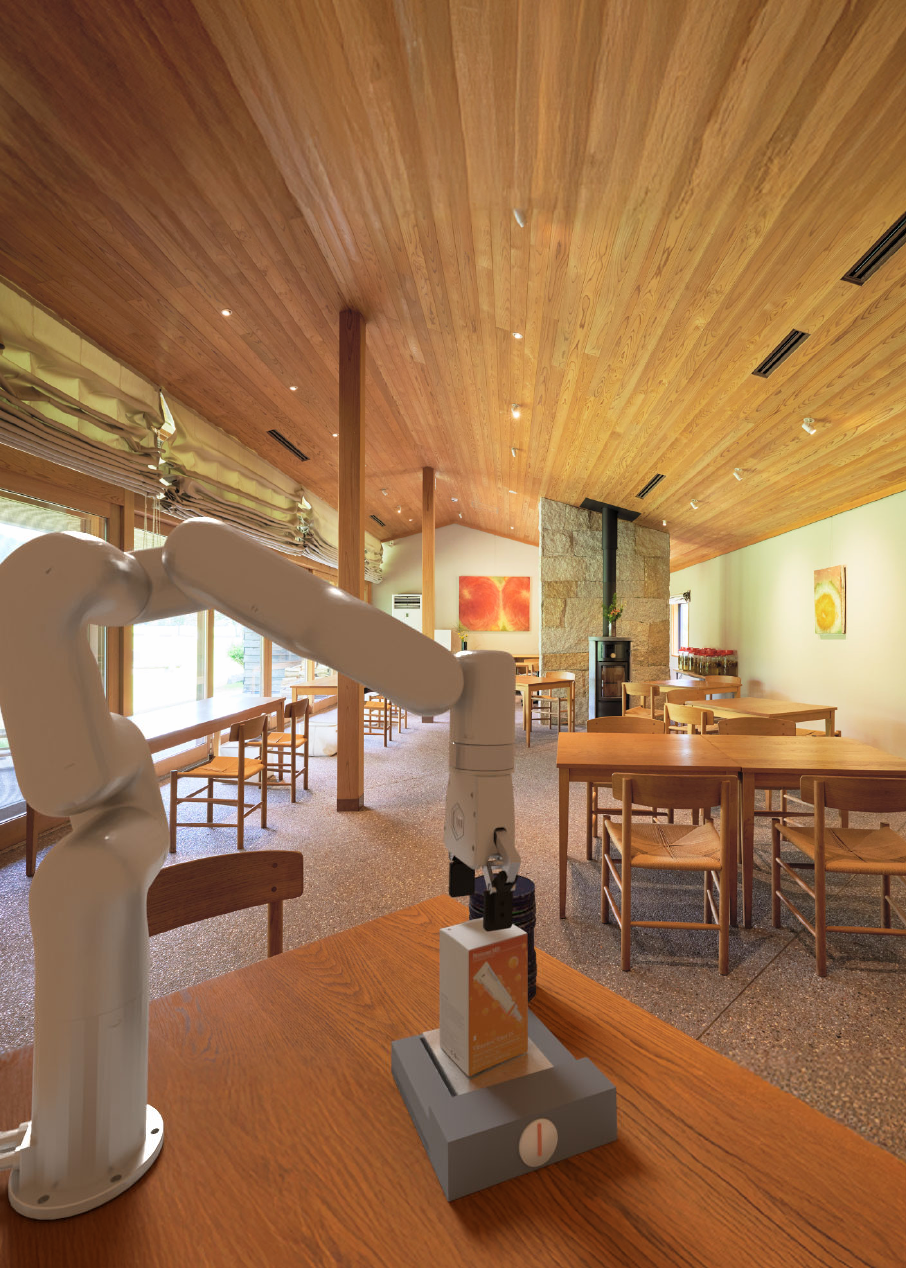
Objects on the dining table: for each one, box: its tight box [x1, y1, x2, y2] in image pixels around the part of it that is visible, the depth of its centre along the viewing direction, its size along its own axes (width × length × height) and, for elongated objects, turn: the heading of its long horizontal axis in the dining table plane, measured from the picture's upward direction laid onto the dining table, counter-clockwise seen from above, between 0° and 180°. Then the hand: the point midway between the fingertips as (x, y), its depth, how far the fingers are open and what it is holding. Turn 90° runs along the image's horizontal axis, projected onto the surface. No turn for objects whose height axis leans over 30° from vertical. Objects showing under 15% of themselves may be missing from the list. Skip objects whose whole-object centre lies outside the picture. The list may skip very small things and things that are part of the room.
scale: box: [390, 1007, 618, 1203], centre depth 64 cm, size 18×18×5 cm
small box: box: [438, 918, 529, 1077], centre depth 67 cm, size 8×6×13 cm
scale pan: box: [422, 1027, 554, 1097], centre depth 66 cm, size 11×11×3 cm
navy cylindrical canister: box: [468, 872, 538, 1004], centre depth 87 cm, size 10×10×15 cm
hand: (478, 911), depth 67 cm, fingers open, 9 cm apart
